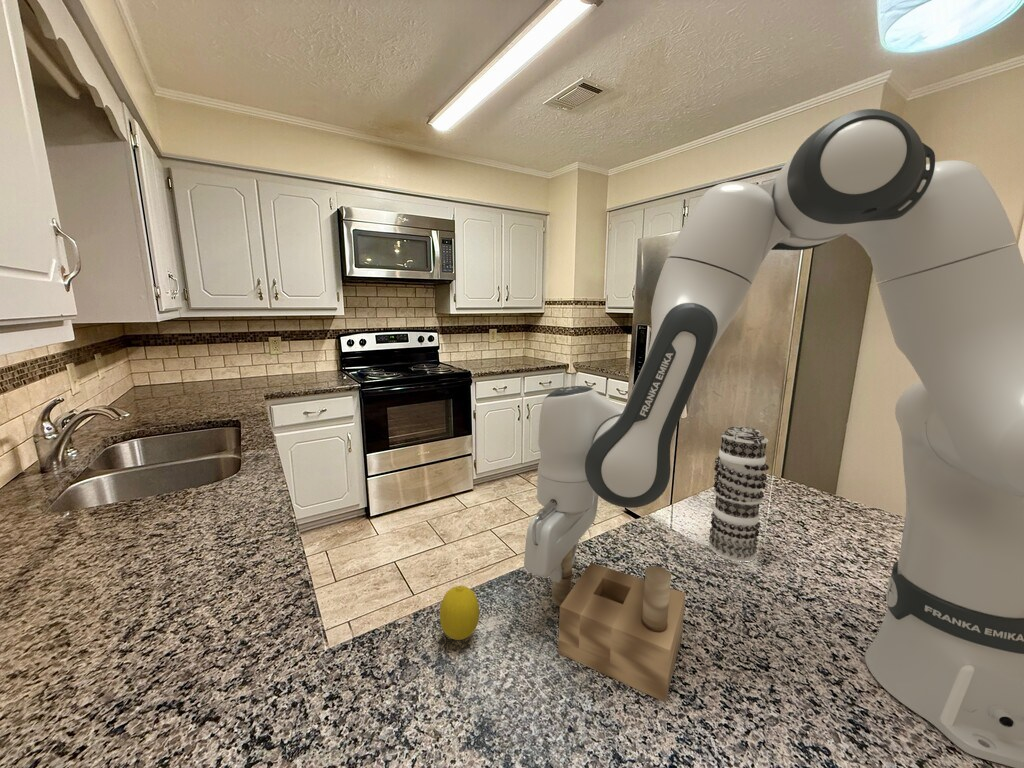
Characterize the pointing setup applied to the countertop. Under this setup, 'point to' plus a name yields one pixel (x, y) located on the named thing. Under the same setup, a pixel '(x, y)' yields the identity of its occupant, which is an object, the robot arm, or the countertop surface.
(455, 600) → the lemon
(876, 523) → the countertop surface
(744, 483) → the decorative candle
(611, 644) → the wooden peg hole block
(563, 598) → the peg
